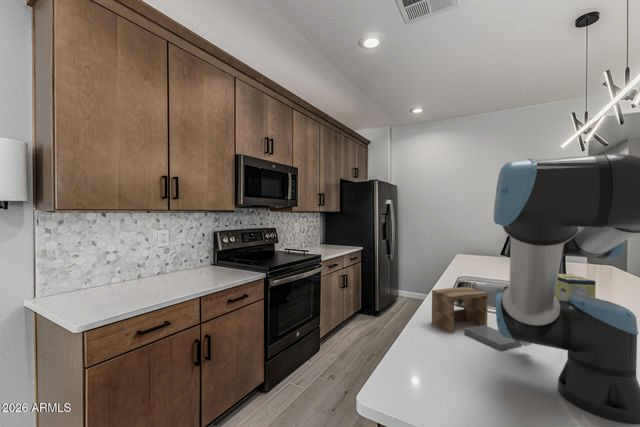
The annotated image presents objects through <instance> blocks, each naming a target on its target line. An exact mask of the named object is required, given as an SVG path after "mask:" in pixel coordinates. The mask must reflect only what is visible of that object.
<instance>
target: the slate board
mask: <svg viewBox="0 0 640 427" xmlns="http://www.w3.org/2000/svg"><path fill="white" fill-rule="evenodd" d="M463 330H464V331H463V332H464V335H465V336H468V337H470V338H472V339H474V340H475V341H478V342H480V343H483V344H485V345H487V346H489V347H492V348H494V349H496V350H498V351H500V352H503V351H507V350H511V349H512V350H513V349H516V348H519V347H522V346H523V345H521V341H515V340H513V339H509V338H505V337H503V336H502V335H501V334H500V332H499V330H498V329H495V328H493V327H491V326H488V325H487V326H486V325H477V326H472V327H466V328H464V329H463Z"/></svg>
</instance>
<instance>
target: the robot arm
mask: <svg viewBox="0 0 640 427" xmlns="http://www.w3.org/2000/svg"><path fill="white" fill-rule="evenodd" d="M493 205H494V206H493V222H494V224H496V225H500V226H501V227H502V229H503V231H504V232H505V234H506V235H507V236H508V237H509V238H510V249H509V250H510V251H509V286H504V291H503V292H502V291H501V292H498V293H497V294H496V296H495V317H496V326H497V330H498V331H499V332H500V334H501V335H502V336H503V337H505V338H509V339H513V340H515V341H521V345H522V346H524V347H527V346H531V345H536V346H537V345H538V346H544V347H548V348H552V349H553V348H554V349H560V350H563V351H567V358H566V362H565V363H564V365H563V368H562V370H561V372H560V374H559V376H558V378H557V379H558V380H557V390H558V392H559V393H560V395H561V396H562V397H563V398H565V399H566V400H567V401H568V402H570V403H571V404H573V405H575V406H576V407H579V408H580V409H582V410H583V411H586V412H588V413H590V414H594V415H595V416H599V417H602V418H605V419H608V420H612V421H617V422H621V423H627V424H640V384H639V380H638V379H637V364H638V363H637V361H638V360H637V359H638V358H637V357H638V352H637V350H638V335H639V330H638V322H637V316H636V315H635V313H634V312H633V311H631V310H630V309H628V308H626V307H624V306H622V305H619V304H617V303H614V302H611V301H607V300H603V299H601V298H597V297H595V298H593V297H588V296H582V295H570V296H569V297H568V298H567V300H568V301H564V300H558V299H557V297H556V296H555V290H556V284H557V279H558V274H560V268H561V262H562V258H563V257H574V258H575V257H577V258H591V259H598V260H606V259H607V260H616V259H620V258H621V257H622V254H623V253H624V249H625V248H624V246H625V243H624V242H625V241H627V240H629V239H631V237H634V236H635V235H637V234H640V156H638V155H632V154H625V153H607V154H606V153H604V154H600V155H599V154H597V155H584V156H581V155H580V156H568V157H558V158H542V159H541V158H540V159H535V158H528V159H526V160H524V159H523V160H517V161H516V160H515V161H510V162H507V163H505V164H504V165H503V166H501V169H500V171H499V174H498V177H497V183H496V189H495V199H494V204H493Z"/></svg>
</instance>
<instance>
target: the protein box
mask: <svg viewBox="0 0 640 427" xmlns="http://www.w3.org/2000/svg"><path fill="white" fill-rule="evenodd" d="M596 284H597V283H596V280H593V279H590V278H585V277H582V276H579V275H575V274H572V273H559V274H558V279H557V284H556V290H555V296H556V297H557V299H558V300H564V301H568V300H567V298H568V297H569V296H570V295H582V296H588V297H593V298H596Z"/></svg>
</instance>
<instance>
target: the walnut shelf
mask: <svg viewBox="0 0 640 427" xmlns="http://www.w3.org/2000/svg"><path fill="white" fill-rule="evenodd" d="M488 296H489V294H488V292H487V291H483V290H479V289H476V288H473V287H469V286H460V287H458V286H457V287H448V288H442V289H432V290H431V325H433V326H436V327H437V328H440V329H441V330H444V331H446V332H448V333H450V334H455V332H454V331H455V329H454V328H455V327H454V326H455V322H459V321H464V320H466V321H469V322H471V323H474V324H476V325H478V326H481V325H486V326H488V305H489V304H488V302H489V300H488V298H489V297H488ZM455 300H456V301H457V300H463V308H460V309H455Z"/></svg>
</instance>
